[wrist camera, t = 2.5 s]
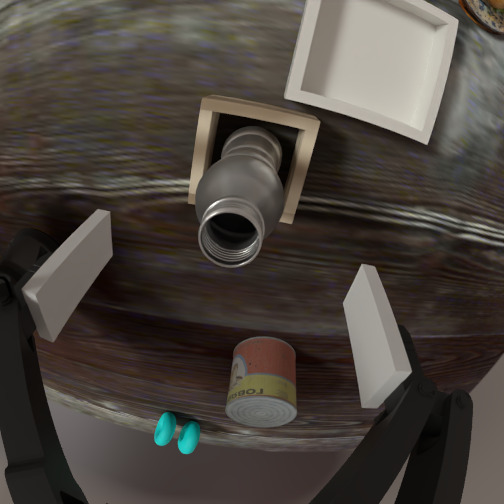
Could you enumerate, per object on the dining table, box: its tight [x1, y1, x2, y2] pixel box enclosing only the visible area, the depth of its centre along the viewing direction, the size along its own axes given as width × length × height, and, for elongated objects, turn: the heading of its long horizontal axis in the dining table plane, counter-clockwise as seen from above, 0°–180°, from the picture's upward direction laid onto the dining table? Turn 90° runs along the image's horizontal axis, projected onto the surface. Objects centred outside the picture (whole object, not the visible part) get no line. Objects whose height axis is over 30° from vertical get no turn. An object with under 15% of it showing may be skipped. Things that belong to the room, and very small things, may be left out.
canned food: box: [225, 337, 297, 427], centre depth 48 cm, size 11×11×12 cm
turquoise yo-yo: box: [155, 412, 200, 454], centre depth 67 cm, size 10×10×10 cm
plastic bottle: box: [195, 126, 285, 268], centre depth 25 cm, size 6×7×20 cm
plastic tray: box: [284, 0, 459, 145], centre depth 24 cm, size 16×16×4 cm
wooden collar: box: [188, 95, 320, 224], centre depth 31 cm, size 11×11×5 cm
